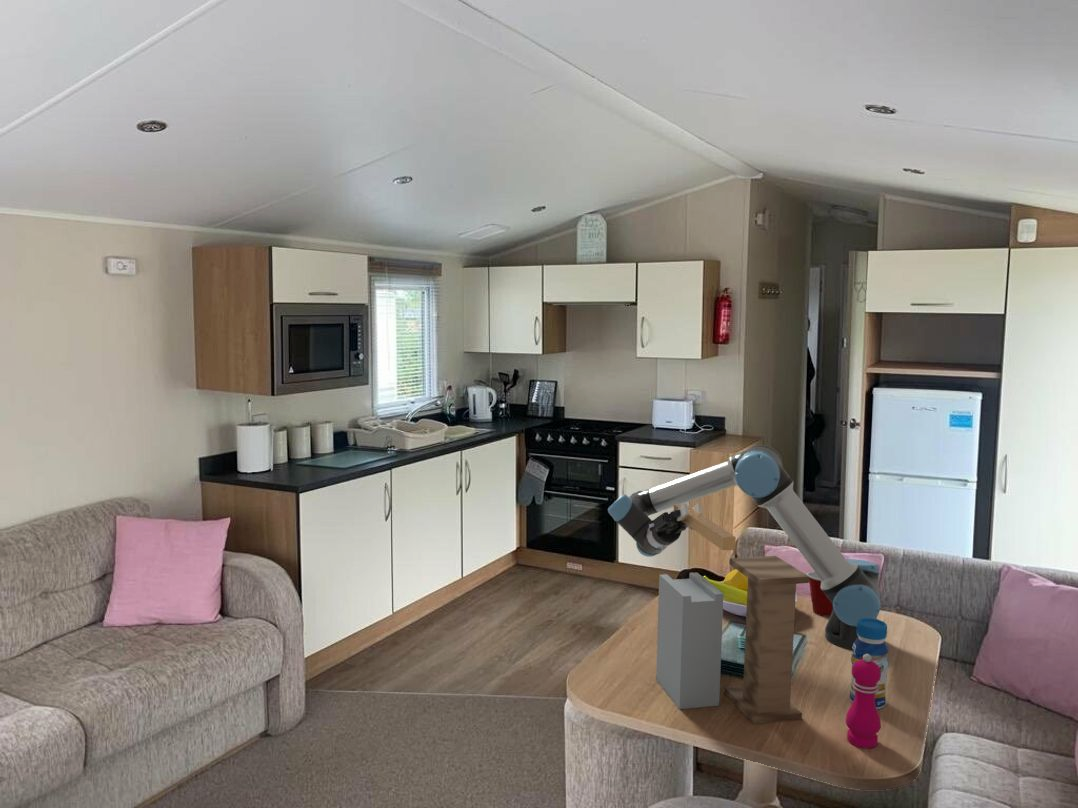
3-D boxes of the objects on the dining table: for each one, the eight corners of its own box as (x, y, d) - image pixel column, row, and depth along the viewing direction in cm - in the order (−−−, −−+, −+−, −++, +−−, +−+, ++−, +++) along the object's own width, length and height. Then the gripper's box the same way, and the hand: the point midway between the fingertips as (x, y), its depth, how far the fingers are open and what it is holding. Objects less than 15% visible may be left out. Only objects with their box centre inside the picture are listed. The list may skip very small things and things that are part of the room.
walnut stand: (724, 692, 214) (729, 558, 210) (769, 688, 217) (775, 555, 212) (753, 724, 198) (760, 579, 194) (801, 719, 201) (809, 576, 197)
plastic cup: (845, 610, 271) (847, 573, 270) (836, 621, 262) (839, 582, 261) (810, 603, 277) (812, 567, 275) (800, 614, 268) (802, 576, 266)
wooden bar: (673, 515, 230) (673, 504, 230) (684, 515, 231) (684, 503, 230) (722, 550, 199) (723, 537, 199) (735, 549, 200) (735, 537, 199)
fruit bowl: (795, 600, 280) (796, 566, 278) (796, 631, 254) (798, 594, 252) (706, 591, 287) (707, 558, 286) (698, 621, 261) (700, 584, 260)
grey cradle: (656, 679, 221) (659, 574, 217) (693, 676, 223) (697, 572, 219) (679, 709, 205) (683, 596, 202) (719, 705, 207) (723, 593, 204)
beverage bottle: (889, 700, 211) (895, 621, 208) (881, 714, 204) (886, 632, 201) (853, 691, 216) (858, 613, 213) (844, 704, 209) (849, 624, 206)
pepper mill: (884, 750, 188) (890, 661, 185) (850, 749, 188) (856, 660, 185) (872, 733, 195) (878, 647, 192) (840, 732, 195) (845, 647, 193)
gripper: (693, 544, 242) (725, 521, 221) (638, 546, 239) (665, 524, 217) (689, 518, 245) (720, 493, 223) (634, 519, 241) (660, 495, 220)
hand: (693, 508), depth 220 cm, fingers closed on wooden bar, 3 cm apart
